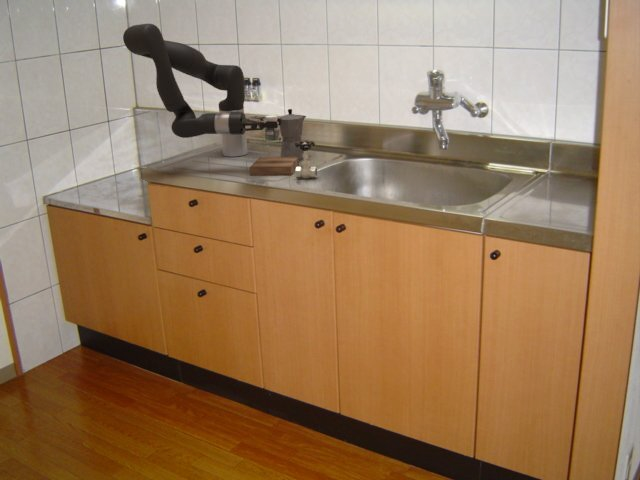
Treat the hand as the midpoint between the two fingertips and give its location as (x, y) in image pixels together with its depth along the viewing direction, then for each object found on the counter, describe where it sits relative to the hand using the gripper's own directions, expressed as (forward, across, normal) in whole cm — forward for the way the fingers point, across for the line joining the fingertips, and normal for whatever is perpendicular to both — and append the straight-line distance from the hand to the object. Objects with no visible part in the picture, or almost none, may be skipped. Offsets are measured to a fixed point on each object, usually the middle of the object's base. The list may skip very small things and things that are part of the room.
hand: (279, 123), depth 247 cm
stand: (-2, 0, +16) cm, 16 cm away
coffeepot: (0, +17, +16) cm, 24 cm away
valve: (+11, -11, +16) cm, 22 cm away
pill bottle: (-3, 0, +6) cm, 7 cm away
